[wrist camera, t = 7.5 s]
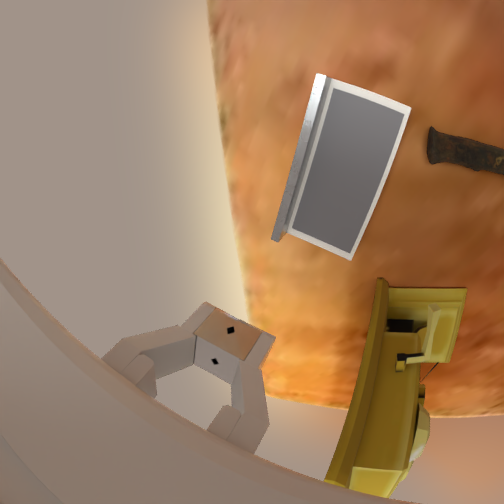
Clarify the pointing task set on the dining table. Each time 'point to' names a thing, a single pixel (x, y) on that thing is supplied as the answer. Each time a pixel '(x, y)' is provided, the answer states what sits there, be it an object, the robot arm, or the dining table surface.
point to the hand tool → (464, 152)
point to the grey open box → (339, 165)
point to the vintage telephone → (394, 386)
